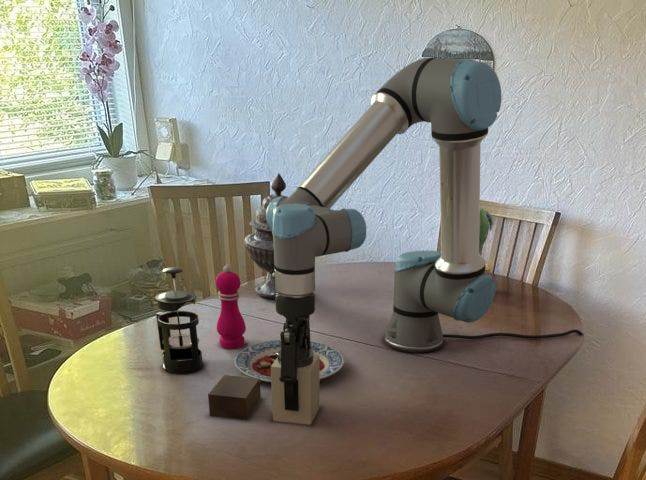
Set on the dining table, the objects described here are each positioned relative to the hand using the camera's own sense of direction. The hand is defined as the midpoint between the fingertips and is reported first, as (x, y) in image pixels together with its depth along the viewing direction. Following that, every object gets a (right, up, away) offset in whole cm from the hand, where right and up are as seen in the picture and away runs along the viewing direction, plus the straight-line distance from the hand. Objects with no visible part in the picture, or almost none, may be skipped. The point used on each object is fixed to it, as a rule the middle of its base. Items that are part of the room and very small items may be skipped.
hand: (297, 400), depth 146 cm
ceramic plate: (-4, +10, +22) cm, 24 cm away
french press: (-29, +10, +21) cm, 37 cm away
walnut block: (-13, -1, +3) cm, 14 cm away
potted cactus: (+47, +44, +79) cm, 102 cm away
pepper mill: (-20, +18, +34) cm, 43 cm away
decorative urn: (-11, +40, +69) cm, 81 cm away
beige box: (-5, -1, +2) cm, 6 cm away
